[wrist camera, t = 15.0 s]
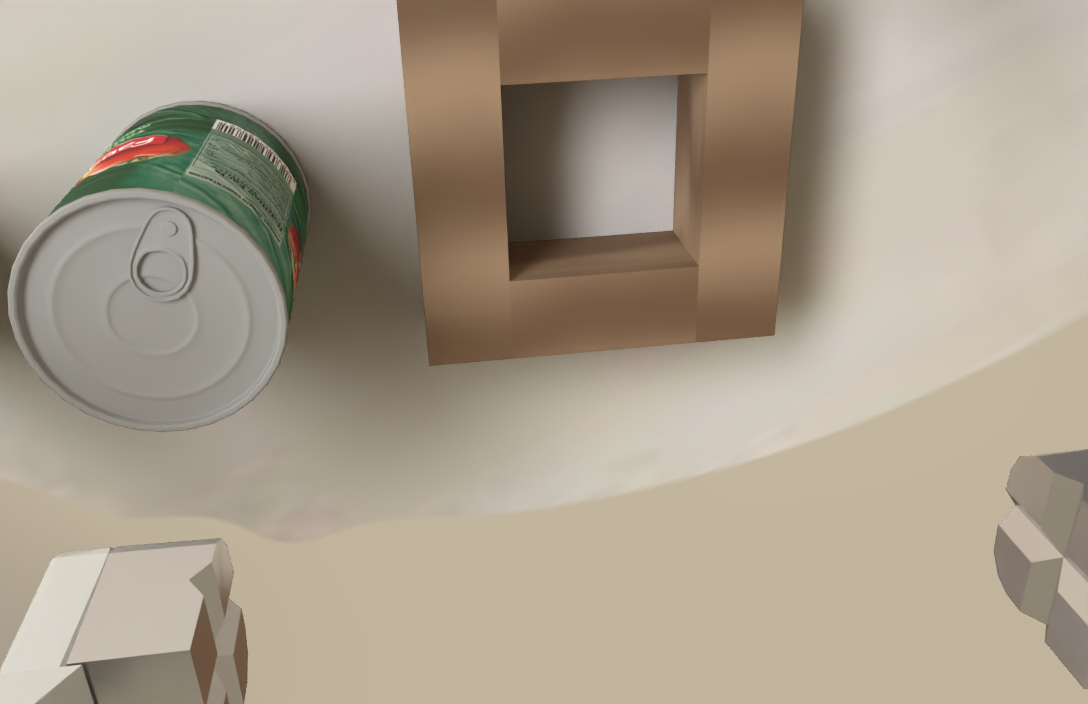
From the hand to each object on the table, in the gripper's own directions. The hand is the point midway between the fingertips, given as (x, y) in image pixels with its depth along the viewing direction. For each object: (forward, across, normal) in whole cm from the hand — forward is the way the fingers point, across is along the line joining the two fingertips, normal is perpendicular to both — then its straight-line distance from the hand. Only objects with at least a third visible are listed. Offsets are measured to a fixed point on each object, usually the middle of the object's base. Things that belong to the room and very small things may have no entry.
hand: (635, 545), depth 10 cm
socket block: (+31, -5, +5) cm, 32 cm away
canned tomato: (+31, +10, +6) cm, 33 cm away
